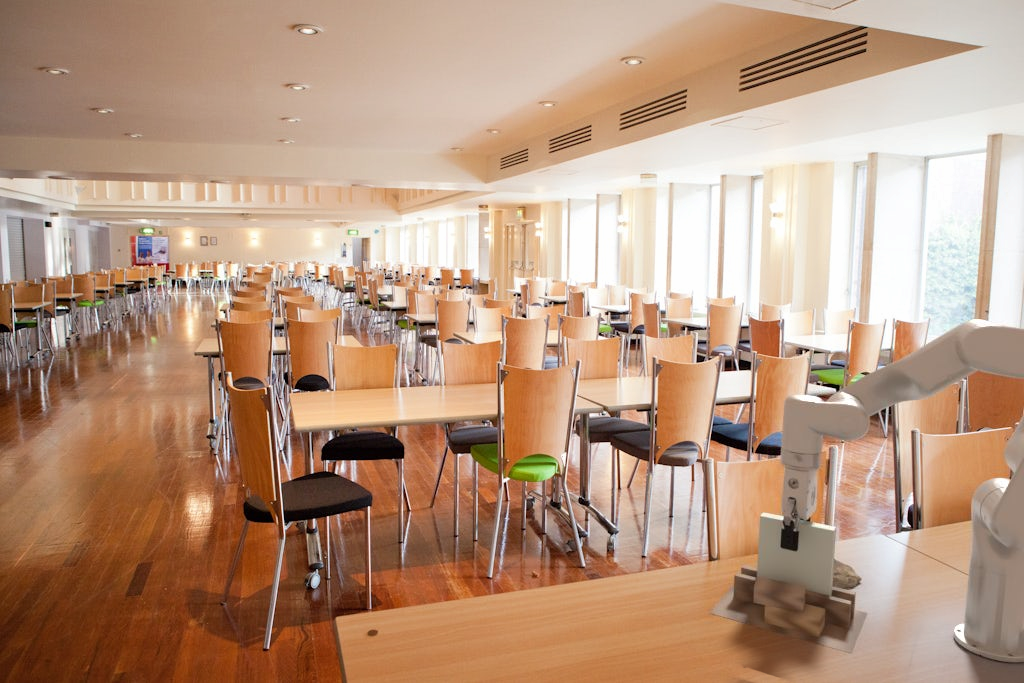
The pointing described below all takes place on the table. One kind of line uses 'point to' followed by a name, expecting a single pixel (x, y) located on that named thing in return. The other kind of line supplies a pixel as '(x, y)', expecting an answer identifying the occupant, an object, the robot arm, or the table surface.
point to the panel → (797, 554)
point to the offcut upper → (779, 594)
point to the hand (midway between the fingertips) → (795, 541)
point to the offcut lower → (797, 619)
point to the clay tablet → (844, 576)
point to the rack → (839, 607)
